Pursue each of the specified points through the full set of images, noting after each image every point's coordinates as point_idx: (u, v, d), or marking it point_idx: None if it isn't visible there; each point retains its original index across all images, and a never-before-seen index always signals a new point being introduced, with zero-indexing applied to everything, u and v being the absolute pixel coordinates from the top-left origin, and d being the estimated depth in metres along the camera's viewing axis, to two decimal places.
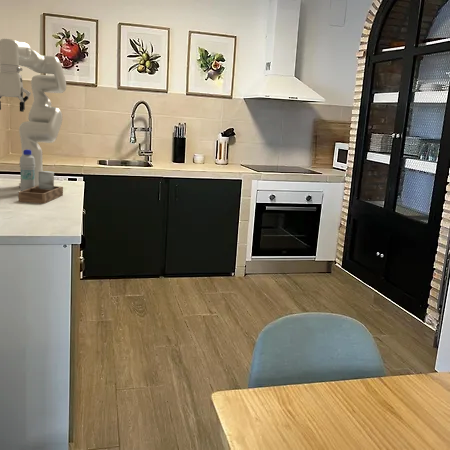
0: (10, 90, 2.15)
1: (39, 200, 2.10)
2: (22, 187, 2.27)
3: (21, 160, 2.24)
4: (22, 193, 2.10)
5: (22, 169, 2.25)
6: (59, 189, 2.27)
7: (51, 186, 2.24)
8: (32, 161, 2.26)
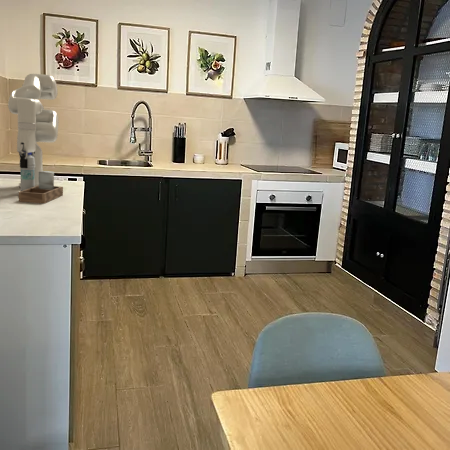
0: (33, 146, 2.26)
1: (39, 200, 2.10)
2: (22, 187, 2.27)
3: None
4: (22, 193, 2.10)
5: (22, 169, 2.25)
6: (59, 189, 2.27)
7: (51, 186, 2.24)
8: (32, 161, 2.26)
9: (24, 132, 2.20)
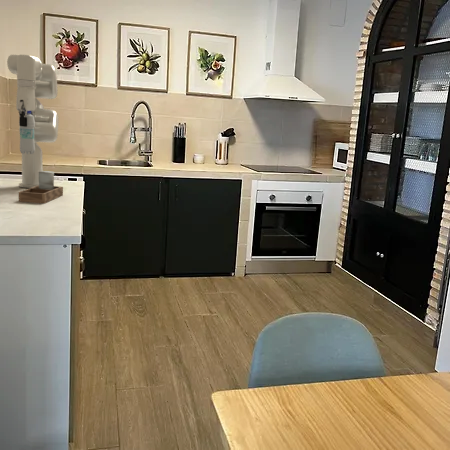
0: (32, 105, 2.23)
1: (39, 200, 2.10)
2: (22, 146, 2.23)
3: None
4: (22, 193, 2.10)
5: (22, 128, 2.21)
6: (59, 189, 2.27)
7: (51, 186, 2.24)
8: (32, 120, 2.22)
9: (23, 89, 2.16)
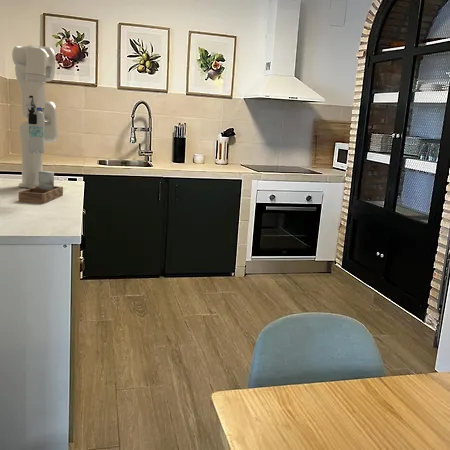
0: (42, 101, 2.08)
1: (39, 200, 2.10)
2: (31, 145, 2.08)
3: None
4: (22, 193, 2.10)
5: (31, 125, 2.07)
6: (59, 189, 2.27)
7: (51, 186, 2.24)
8: (41, 117, 2.07)
9: (33, 84, 2.01)
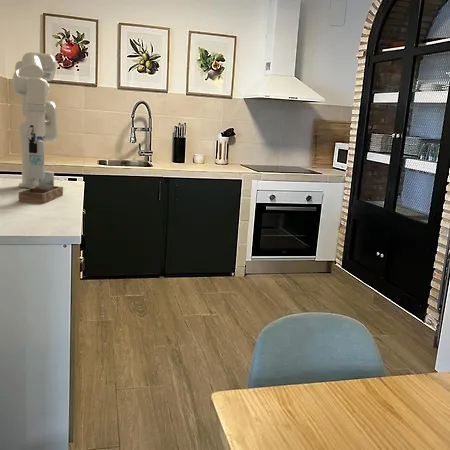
0: (42, 130, 2.10)
1: (39, 200, 2.10)
2: (31, 174, 2.11)
3: None
4: (22, 193, 2.10)
5: (31, 154, 2.09)
6: (59, 189, 2.27)
7: (51, 186, 2.24)
8: (42, 145, 2.10)
9: (33, 114, 2.04)
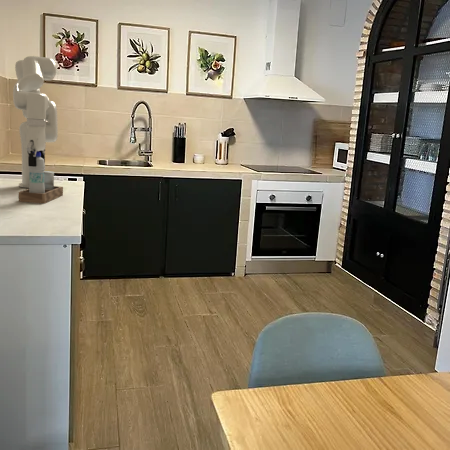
0: (43, 144, 2.12)
1: (39, 200, 2.10)
2: (31, 191, 2.13)
3: None
4: (22, 193, 2.10)
5: (31, 172, 2.11)
6: (59, 189, 2.27)
7: (51, 186, 2.24)
8: (42, 163, 2.12)
9: (34, 129, 2.05)
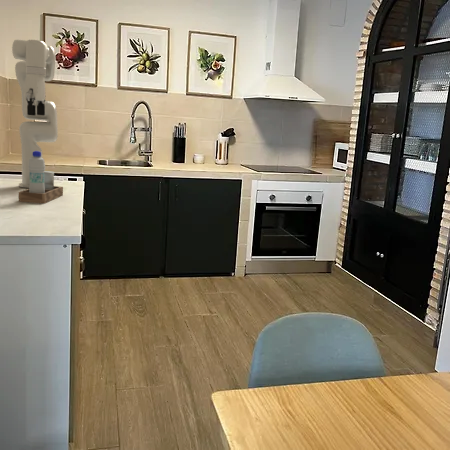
0: (42, 94, 2.08)
1: (39, 200, 2.10)
2: (31, 191, 2.13)
3: (30, 162, 2.10)
4: (22, 193, 2.10)
5: (31, 172, 2.11)
6: (59, 189, 2.27)
7: (51, 186, 2.24)
8: (42, 163, 2.12)
9: (33, 77, 2.01)
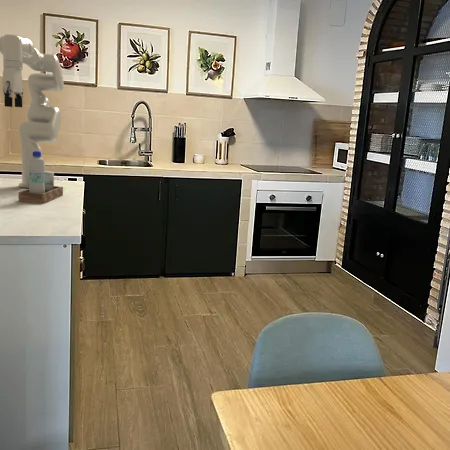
0: (19, 87, 2.17)
1: (39, 200, 2.10)
2: (31, 191, 2.13)
3: (30, 162, 2.10)
4: (22, 193, 2.10)
5: (31, 172, 2.11)
6: (59, 189, 2.27)
7: (51, 186, 2.24)
8: (42, 163, 2.12)
9: (10, 70, 2.10)
